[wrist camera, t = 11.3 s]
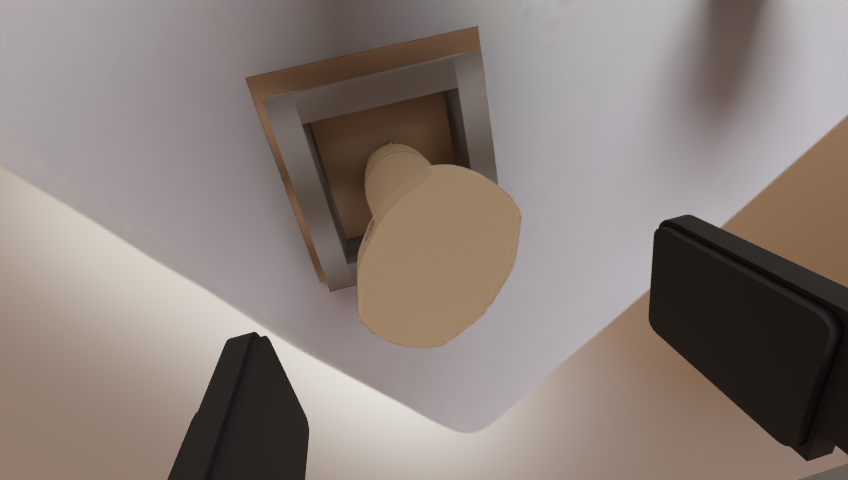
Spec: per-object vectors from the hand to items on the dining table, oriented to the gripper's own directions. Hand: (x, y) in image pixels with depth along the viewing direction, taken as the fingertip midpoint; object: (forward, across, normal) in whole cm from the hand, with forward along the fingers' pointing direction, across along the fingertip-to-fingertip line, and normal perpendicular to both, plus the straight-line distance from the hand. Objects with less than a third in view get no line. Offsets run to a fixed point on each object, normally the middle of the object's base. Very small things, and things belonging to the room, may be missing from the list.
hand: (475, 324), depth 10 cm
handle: (+19, 0, +1) cm, 19 cm away
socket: (+20, 0, +1) cm, 20 cm away
